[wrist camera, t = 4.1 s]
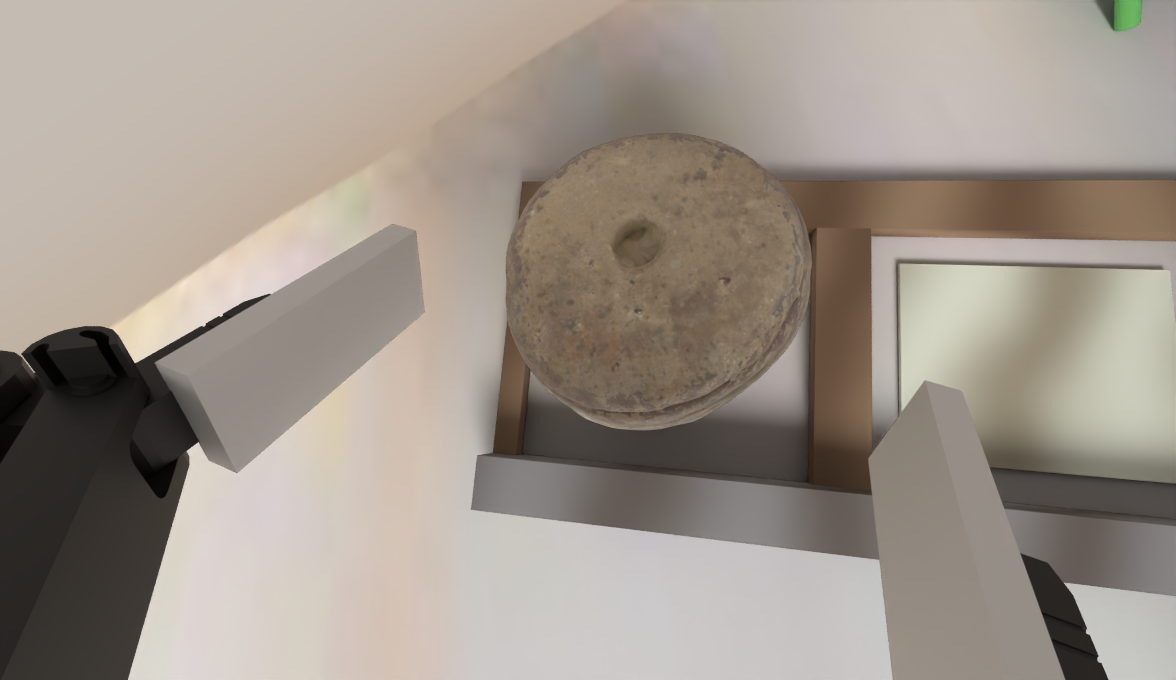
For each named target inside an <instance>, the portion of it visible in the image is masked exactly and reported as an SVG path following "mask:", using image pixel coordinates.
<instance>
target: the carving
mask: <svg viewBox="0 0 1176 680" xmlns="http://www.w3.org/2000/svg"><path fill="white" fill-rule="evenodd" d="M812 263H813V262H812V255H811V246H810V242H809V236H808V232H807V228H806V225H805V222H804V219H803V217H802V215H801V212H800V210H799V208H798V206H797V204H796V202H795V200H794V199H793V197H792V196H791V195H790V194H789V193H788V191H787V190H786V189H785V188H784V187H783V186H782V184H781V183H780V182H779V181H778V180H777V179H776V178H775V177H773V176H772V175H771V174H770V173H769V172H768V171H766V170H765V169H764V168H762V167H761V166H760V165H759V164H758V163H757V162H756V161H754V160H753V159H752V158H750V157H749V156H748V155H746V154H744V153H743V152H741V151H739V150H737V149H735V148H733V147H730V146H728V145H726V144H723V143H721V142H718V141H715V140H711V139H707V138H703V137H699V136H694V135H688V134H675V133H664V134H649V135H640V136H634V137H629V138H623V139H619V140H616V141H612V142H609V143H606V144H603V145H600V146H597V147H594V148H592V149H589V150H587V151H584V152H582V153H581V154H579V155H578V156H576V157H574V158H573V159H571V160H570V161H569V162H568V163H567V164H565V165H564V166H563V167H562V168H561V169H559V170H558V171H557V172H556V173H555V174H554V175H552V176H551V177H550V178H549V179H548V180H547V181H546V182H545V183H544V184H543V185H542V186H541V187H540V188H539V189H538V190H537V192H536V193H535V194H534V196H533V197H532V198H531V199H530V200H529V202H528V203H527V205H526V207H525V208H524V210H523V212H522V214H521V216H520V218H519V220H518V222H517V224H516V226H515V228H514V230H513V232H512V235H511V238H510V241H509V244H508V248H507V256H506V279H507V281H506V307H507V320H508V325H509V327H510V331H511V334H512V336H513V339H514V341H515V343H516V345H517V348H518V350H519V352H520V353H521V356H522V358H523V359H524V361H525V362H526V364H527V365H528V367H529V368H530V370H531V371H532V372H533V374H534V375H535V376H536V378H537V379H538V381H539V382H540V383H541V385H542V386H543V387H544V388H545V389H546V390H547V391H548V392H550V393H551V394H552V395H553V396H555V397H556V398H557V399H558V400H560V401H561V402H562V403H564V404H565V405H567V406H569V407H570V408H572V409H573V410H574V411H575V412H576V413H578V414H579V415H581V416H582V417H583V418H585V419H587V420H590V421H592V422H595V423H598V424H601V425H604V426H607V427H611V428H616V429H627V430H656V429H663V428H668V427H671V426H675V425H678V424H686V423H690V422H693V421H696V420H698V419H700V418H702V417H704V416H706V415H708V414H709V413H711V412H713V411H714V410H716V409H717V408H719V407H721V406H722V405H724V404H726V403H727V402H729V401H730V400H732V399H733V398H734V397H735V396H737V395H738V394H740V393H741V392H742V391H744V390H745V389H746V388H748V387H749V386H750V385H751V384H752V383H754V382H755V381H756V380H757V379H759V378H760V377H761V376H762V375H763V374H764V373H765V372H766V371H767V370H768V369H769V368H770V367H771V366H772V365H773V364H774V363H775V362H776V361H777V360H778V359H779V357H780V356H781V355H782V354H783V353H784V352H785V350H786V349H787V348H788V346H789V345H790V343H791V342H792V340H793V338H794V337H795V335H796V333H797V331H798V329H799V327H800V325H801V323H802V320H803V318H804V315H805V313H806V310H807V305H808V301H809V296H810V275H811V268H812Z"/></svg>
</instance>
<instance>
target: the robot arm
mask: <svg viewBox="0 0 1176 680" xmlns="http://www.w3.org/2000/svg"><path fill="white" fill-rule="evenodd" d="M424 312H425V311H424V301H423V292H422V282H421V273H420V263H419V254H418V245H417V235H416V231H415V230H412V229H408V228H405V227H401V226H398V225H395V224H391V225H390V226H388V227H386V228H384V229H383V230H381V231H379V232H378V233H376V234H374V235H372V236H371V237H369V238H367V239H366V240H364V241H362V242H360V243H359V244H357V245H355V246H354V247H352V248H350V249H348V250H347V251H345V252H343V253H342V254H340V255H338V256H336V257H335V258H333V259H331V260H330V261H328V262H326V263H324V264H323V265H321V266H319V267H318V268H316V269H314V270H312V271H311V272H309V273H307V274H306V275H304V276H302V277H301V278H299V279H297V280H295V281H294V282H292V283H290V284H289V285H287V286H285V287H283V288H282V289H280V290H278V291H277V292H275V293H273V294H267V295H264V296H261V297H258V298H254V299H251V300H248V301H245V302H243V303H241V304H239V305H238V306H236V307H234V308H232V309H231V310H229V311H227V312H225V313H223V316H222V317H220V316H218V317H216V318H215V319H213V320H211V321H209V322H208V323H206V326H205V327H203V326H201V327H199V328H197V329H195V330H194V331H192V332H190V333H188V334H187V335H185V336H183V337H181V338H180V339H178V340H176V341H174V342H172V343H171V344H169V345H167V346H165V347H164V348H162V349H160V350H158V351H157V352H155V353H153V354H151V355H150V356H148V357H146V358H144V359H143V360H141V361H139V362H137V363H134V361H133V360H132V358H131V356H130V354H129V353H128V351H127V349H126V348H125V346H124V344H123V342H122V341H121V339H120V337H119V336H118V335H117V334H116V333H115V332H114V330H112V329H109V328H105V327H101V326H84V327H78V328H72V329H67V330H63V331H60V332H57V333H54V334H51V335H49V336H47V337H44V338H43V339H41V340H39V341H37V342H35V343H33V344H31V345H30V346H29V347H28V348H27V349H26V350H25V351H24V352H23V353H22V355H23V357H24V358H25V359H26V361H27V362H28V363H29V365H30V366H31V367H32V369H33V370H34V371H35V373H33V371H32V370H31V369H30V367H29V366H28V365H27V364H26V362H25V361H24V360H23V358H22V357H20V356H19V355H17V354H16V353H15V352H8V351H0V680H128V677H129V674H130V670H131V667H132V663H133V660H134V656H135V653H136V649H137V646H138V642H139V639H140V635H141V632H142V628H143V625H144V621H145V618H146V614H147V611H148V607H149V604H150V600H151V597H152V593H153V590H154V586H155V583H156V579H157V576H158V572H159V569H160V565H161V562H162V558H163V555H164V551H165V548H166V544H167V541H168V537H169V534H170V530H171V527H172V523H173V520H174V517H175V513H176V510H177V506H178V503H179V499H180V496H181V492H182V489H183V485H184V482H185V478H186V475H187V471H188V468H189V455H188V453H187V452H186V451H187V450H188V449H190V448H191V447H192V446H194V445H195V444H196V443H198V442H199V444H200V446H201V447H202V449H203V451H204V453H205V455H206V456H207V458H208V460H209V461H211V462H213V463H216V464H218V465H220V466H222V467H225V468H227V469H229V470H231V471H233V472H236V473H238V472H239V471H240V470H241V469H243V468H244V467H245V466H246V465H247V464H248V463H250V462H251V461H252V460H253V459H254V458H255V457H257V456H258V455H259V454H260V453H261V452H262V451H264V450H265V449H266V448H267V447H268V446H269V445H271V444H272V443H273V442H274V441H275V440H276V439H277V438H279V437H280V436H281V435H282V434H283V433H284V432H286V431H287V430H288V429H289V428H290V427H291V426H293V425H294V424H295V423H296V422H297V421H298V420H300V419H301V418H302V417H303V416H304V415H305V414H307V413H308V412H309V411H310V410H311V409H312V408H314V407H315V406H316V405H317V404H318V403H319V402H321V401H322V400H323V399H324V398H325V397H326V396H328V395H329V394H330V393H331V392H332V391H333V390H335V389H336V388H337V387H338V386H339V385H340V384H342V383H343V382H344V381H345V380H346V379H347V378H349V377H350V376H351V375H352V374H353V373H354V372H356V371H357V370H358V369H359V368H360V367H361V366H363V365H364V364H365V363H366V362H367V361H368V360H369V359H371V358H372V357H373V356H374V355H375V354H376V353H378V352H379V351H380V350H381V349H382V348H383V347H385V346H386V345H387V344H388V343H389V342H390V341H392V340H393V339H394V338H395V337H396V336H397V335H399V334H400V333H401V332H402V331H403V330H404V329H406V328H407V327H408V326H409V325H410V324H411V323H413V322H414V321H415V320H416V319H417V318H418V317H420V316H421V315H422V314H423V313H424ZM868 462H869V471H870V479H871V488H872V497H873V506H874V515H875V524H876V533H877V542H878V551H879V560H880V569H881V578H882V587H883V596H884V605H885V614H886V623H887V632H888V641H889V650H890V659H891V668H892V677H893V680H1108V678H1107V675H1106V673H1105V670H1104V668H1103V666H1102V663H1099V662H1098V661H1097V657H1098V654H1097V651H1096V649H1095V647H1094V644H1093V642H1092V639H1091V637H1090V635H1088V634H1086V629H1087V627H1086V625H1085V623H1084V620H1083V618H1082V615H1081V613H1080V611H1079V608H1078V606H1077V604H1076V601H1075V599H1074V596H1073V595H1072V593H1071V592H1070V591H1069V589H1068V588H1067V587H1066V586H1065V584H1064V583H1063V582H1062V580H1061V579H1060V578H1059V576H1058V575H1057V574H1056V573H1055V571H1054V570H1053V569H1052V567H1051V566H1050V565H1049V563H1047V562H1045V561H1042V560H1039V559H1036V558H1033V557H1030V556H1027V555H1024V554H1021V553H1020V552H1019V549H1018V546H1017V543H1016V540H1015V538H1014V535H1013V532H1012V529H1011V526H1010V524H1009V521H1008V518H1007V515H1006V512H1005V509H1004V507H1003V504H1002V501H1001V498H1000V495H999V493H998V490H997V487H996V484H995V481H994V479H993V476H992V473H991V470H990V467H989V465H988V462H987V459H986V456H985V453H984V451H983V448H982V445H981V442H980V439H979V437H978V434H977V431H976V428H975V425H974V423H973V420H972V417H971V414H970V411H969V409H968V406H967V403H966V400H965V397H964V395H963V392H962V391H961V390H957V389H954V388H950V387H947V386H944V385H940V384H937V383H933V382H930V381H927V380H924V382H923V383H922V385H921V386H920V387H919V389H918V390H917V392H916V393H915V394H914V396H913V397H912V398H911V400H910V401H909V403H908V404H907V405H906V407H905V408H904V410H903V411H902V412H901V414H900V415H899V417H898V418H897V419H896V421H895V422H894V424H893V425H892V426H891V428H890V429H889V430H888V432H887V433H886V435H885V436H884V437H883V439H882V440H881V442H880V443H879V444H878V446H877V447H876V449H875V450H874V451H873V453H872V454H871V456H870V457H869V458H868Z"/></svg>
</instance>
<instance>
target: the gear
mask: <svg viewBox="0 0 1176 680" xmlns="http://www.w3.org/2000/svg"><path fill="white" fill-rule="evenodd" d="M1141 7H1142V0H1115V3H1114V30H1115V31H1122V30H1127V29H1130V28H1132V27H1135V26H1136V25H1138V24H1139V23H1140V22H1141Z"/></svg>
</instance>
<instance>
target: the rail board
mask: <svg viewBox="0 0 1176 680" xmlns="http://www.w3.org/2000/svg"><path fill="white" fill-rule="evenodd" d="M779 182H780V183H781V184H782V186H783V187H784V188H785V189H786V190H787V191H788V193H789V194H790V195H791V196H792V197H793V199H794V200H795V202H796V204H797V206H798V208H799V210H800V212H801V215H802V217H803V219H804V222H805V225H806V228H807V232H808V235H812V251H811V255H812V262H813V263H812V268H811V316H810V381H809V446H808V483H807V482H797V481H787V480H777V479H767V478H757V477H747V476H737V475H727V474H716V473H706V472H696V471H686V470H676V469H666V468H656V467H646V466H636V465H626V464H616V463H606V462H596V461H586V460H576V459H566V458H556V457H546V456H535V455H525V454H522V448H523V438H524V428H525V418H526V408H527V398H528V388H529V378H530V368H529V367H528V365H527V364H526V362H525V361H524V359H523V358H522V356H521V353H520V352H519V350H518V348H517V345H516V343H515V341H514V339H513V336H512V334H511V331H510V327H509V325H508V320H507V329H506V338H505V347H504V357H503V366H502V375H501V384H500V393H499V403H498V412H497V421H496V430H495V439H494V448H493V453H489V454H483V455H477V462H476V471H475V480H474V489H473V497H472V506H471V510H478V511H486V512H494V513H502V514H511V515H519V516H527V517H535V518H543V519H551V520H559V521H568V522H576V523H584V524H592V525H600V526H608V527H617V528H625V529H633V530H641V531H649V532H657V533H666V534H674V535H682V536H690V537H698V538H706V539H714V540H723V541H731V542H739V543H747V544H755V545H763V546H772V547H780V548H788V549H796V550H804V551H812V552H821V553H829V554H837V555H845V556H853V557H861V558H869V559H878V560H879V551H878V542H877V533H876V524H875V515H874V506H873V497H872V488H871V479H870V471H869V462H868V458H869V457H870V456H871V454H872V313H871V236H898V237H962V238H1026V239H1090V240H1153V241H1176V180H994V181H779ZM544 183H545V182H522V191H521V201H520V210H519V218H520V216H521V214H522V212H523V210H524V208H525V207H526V205H527V203H528V202H529V200H530V199H531V198H532V197H533V196H534V194H535V193H536V192H537V190H538V189H539V188H540V187H541V186H542V185H543V184H544ZM518 220H519V219H518ZM898 343H899V415H900V414H901V412H902V411H903V410H904V408H905V407H906V405H907V404H908V403H909V401H910V400H911V398H912V397H913V396H914V394H915V393H916V392H917V390H918V389H919V387H920V386H921V385H922V383H923V382H924V380H927V381H930V382H933V383H937V384H940V385H944V386H947V387H950V388H954V389H957V390H961V391H962V392H963V395H964V397H965V400H966V403H967V406H968V409H969V411H970V414H971V417H972V420H973V423H974V425H975V428H976V431H977V434H978V437H979V439H980V442H981V445H982V448H983V451H984V453H985V456H986V459H987V462H988V465H989V467H994V468H1005V469H1017V470H1028V471H1039V472H1051V473H1062V474H1073V475H1084V476H1096V477H1107V478H1118V479H1129V480H1141V481H1152V482H1163V483H1174V484H1176V324H1175V313H1174V303H1173V293H1172V283H1171V272H1170V270H1143V269H1102V268H1062V267H1021V266H980V265H939V264H898ZM1002 504H1003V507H1004V509H1005V512H1006V515H1007V518H1008V521H1009V524H1010V526H1011V529H1012V532H1013V535H1014V538H1015V540H1016V543H1017V546H1018V549H1019V552H1020V553H1021V554H1024V555H1027V556H1030V557H1033V558H1036V559H1039V560H1042V561H1045V562H1047V563H1049V565H1050V566H1051V567H1052V569H1053V570H1054V571H1055V573H1056V574H1057V575H1058V576H1059V578H1060V579H1061V580H1062V582H1065V583H1073V584H1082V585H1090V586H1098V587H1106V588H1114V589H1122V590H1130V591H1139V592H1147V593H1155V594H1163V595H1171V596H1176V519H1169V518H1159V517H1149V516H1139V515H1129V514H1119V513H1109V512H1099V511H1089V510H1078V509H1068V508H1058V507H1048V506H1038V505H1028V504H1018V503H1008V502H1002Z"/></svg>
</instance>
